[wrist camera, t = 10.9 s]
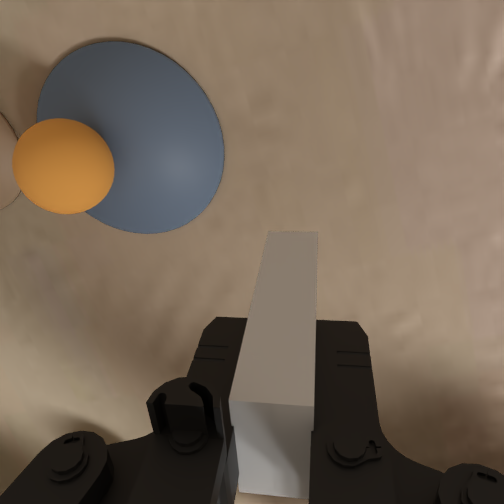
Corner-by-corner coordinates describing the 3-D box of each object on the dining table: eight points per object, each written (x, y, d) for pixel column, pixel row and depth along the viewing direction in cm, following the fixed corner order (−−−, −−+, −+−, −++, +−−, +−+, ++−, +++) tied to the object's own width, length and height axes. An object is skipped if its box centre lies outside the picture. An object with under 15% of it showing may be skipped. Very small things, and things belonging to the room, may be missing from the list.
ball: (96, 107, 28) (101, 112, 23) (121, 190, 30) (130, 210, 25) (3, 125, 26) (-13, 134, 21) (36, 211, 28) (29, 236, 24)
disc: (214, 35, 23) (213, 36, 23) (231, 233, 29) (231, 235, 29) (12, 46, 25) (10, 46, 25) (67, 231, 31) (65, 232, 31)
